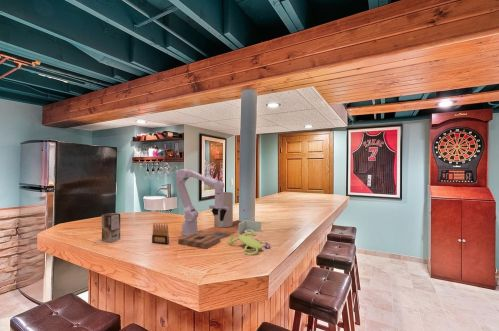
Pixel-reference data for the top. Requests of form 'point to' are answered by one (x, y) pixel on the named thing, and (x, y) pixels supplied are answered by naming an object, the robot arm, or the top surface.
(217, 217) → the steel peg
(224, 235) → the rubber mat
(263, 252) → the top surface
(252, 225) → the l-shaped corner panel
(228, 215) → the cylinder vase
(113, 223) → the coffee box
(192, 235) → the walnut board
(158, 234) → the ammunition clip
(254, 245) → the figurine
